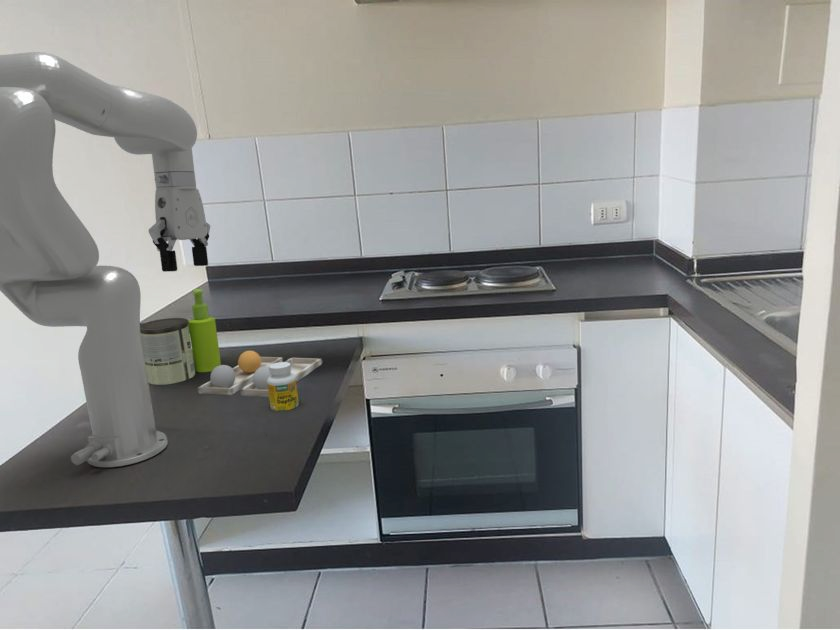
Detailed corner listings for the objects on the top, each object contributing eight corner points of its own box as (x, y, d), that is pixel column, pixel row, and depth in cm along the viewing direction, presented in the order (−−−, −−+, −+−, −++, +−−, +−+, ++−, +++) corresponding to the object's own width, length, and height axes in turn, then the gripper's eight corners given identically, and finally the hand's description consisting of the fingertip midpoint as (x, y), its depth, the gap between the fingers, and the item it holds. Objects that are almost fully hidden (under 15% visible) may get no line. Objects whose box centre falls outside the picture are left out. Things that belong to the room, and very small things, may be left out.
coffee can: (145, 382, 142) (135, 323, 139) (191, 373, 147) (183, 315, 144) (151, 394, 133) (141, 331, 130) (200, 384, 138) (192, 323, 135)
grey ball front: (271, 394, 124) (269, 371, 123) (249, 393, 125) (246, 370, 124) (283, 386, 129) (281, 363, 128) (262, 385, 130) (259, 362, 129)
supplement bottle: (293, 405, 122) (288, 358, 120) (304, 413, 117) (299, 365, 115) (267, 412, 119) (261, 364, 117) (276, 420, 114) (271, 371, 112)
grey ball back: (228, 392, 127) (225, 369, 126) (207, 391, 128) (203, 368, 127) (241, 384, 131) (238, 362, 130) (220, 383, 133) (217, 361, 132)
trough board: (276, 406, 122) (275, 393, 121) (193, 401, 127) (192, 389, 127) (326, 368, 144) (325, 357, 144) (254, 365, 150) (253, 355, 149)
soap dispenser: (220, 367, 150) (209, 286, 146) (223, 375, 144) (211, 290, 139) (194, 371, 148) (183, 289, 144) (196, 379, 141) (184, 293, 137)
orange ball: (254, 376, 137) (252, 354, 136) (235, 375, 138) (232, 353, 137) (266, 369, 141) (264, 348, 140) (247, 368, 143) (244, 347, 142)
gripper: (161, 180, 114) (172, 273, 117) (218, 182, 130) (226, 263, 133) (128, 183, 116) (140, 273, 119) (188, 184, 132) (197, 264, 135)
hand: (186, 268), depth 126 cm, fingers open, 9 cm apart
